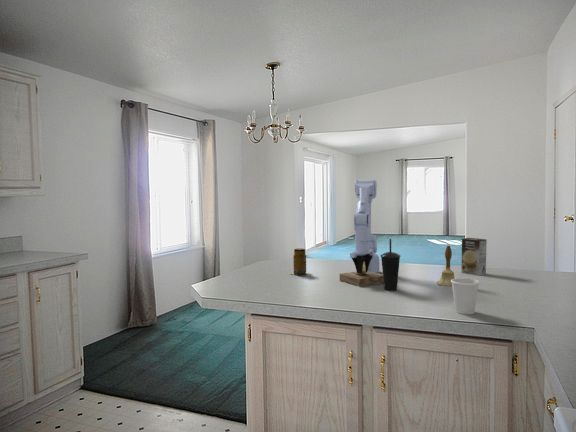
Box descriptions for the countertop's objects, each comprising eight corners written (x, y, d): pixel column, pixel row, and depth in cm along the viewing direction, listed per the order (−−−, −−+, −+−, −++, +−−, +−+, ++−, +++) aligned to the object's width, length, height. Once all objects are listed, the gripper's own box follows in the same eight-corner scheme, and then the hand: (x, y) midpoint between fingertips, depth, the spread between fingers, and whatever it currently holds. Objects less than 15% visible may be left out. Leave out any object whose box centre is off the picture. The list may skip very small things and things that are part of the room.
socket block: (365, 277, 193) (365, 270, 193) (385, 282, 181) (385, 275, 181) (339, 280, 187) (339, 273, 187) (359, 286, 175) (359, 279, 174)
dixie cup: (450, 314, 133) (450, 282, 133) (450, 307, 141) (450, 277, 141) (480, 316, 130) (480, 284, 130) (478, 309, 138) (478, 278, 138)
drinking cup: (401, 288, 170) (401, 238, 169) (399, 292, 163) (399, 240, 162) (381, 286, 173) (381, 237, 172) (379, 291, 166) (379, 239, 165)
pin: (360, 276, 187) (359, 260, 186) (367, 277, 184) (366, 261, 184) (356, 277, 184) (355, 261, 184) (363, 278, 182) (362, 262, 181)
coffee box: (460, 272, 200) (460, 238, 199) (468, 271, 203) (468, 237, 202) (478, 275, 192) (479, 240, 191) (486, 273, 196) (487, 239, 195)
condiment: (300, 272, 209) (300, 247, 208) (312, 274, 202) (312, 249, 202) (289, 274, 204) (288, 249, 203) (301, 276, 198) (300, 250, 197)
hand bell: (459, 283, 178) (459, 244, 177) (457, 287, 170) (458, 247, 169) (438, 281, 181) (438, 244, 180) (436, 285, 174) (436, 246, 173)
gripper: (364, 238, 191) (364, 269, 192) (344, 242, 181) (344, 273, 182) (377, 240, 186) (377, 270, 187) (357, 243, 176) (358, 275, 177)
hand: (362, 272), depth 184 cm, fingers closed on pin, 3 cm apart
